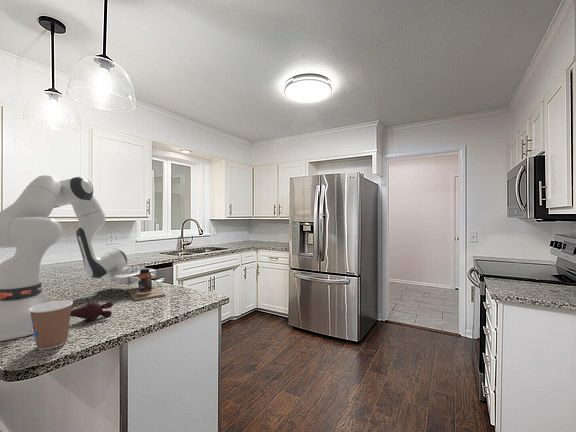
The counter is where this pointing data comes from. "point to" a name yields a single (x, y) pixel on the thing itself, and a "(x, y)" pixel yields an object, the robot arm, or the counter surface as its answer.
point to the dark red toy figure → (92, 311)
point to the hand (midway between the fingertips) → (146, 277)
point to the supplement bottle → (145, 280)
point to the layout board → (145, 293)
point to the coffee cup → (51, 323)
